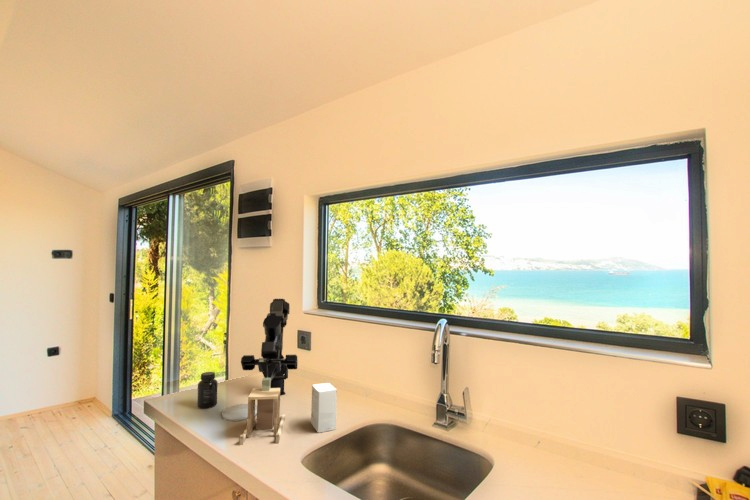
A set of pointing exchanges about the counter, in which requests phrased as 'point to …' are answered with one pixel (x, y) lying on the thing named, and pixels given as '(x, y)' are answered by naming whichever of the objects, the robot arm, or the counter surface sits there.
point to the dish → (237, 412)
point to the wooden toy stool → (263, 394)
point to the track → (243, 437)
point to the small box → (323, 407)
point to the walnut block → (265, 414)
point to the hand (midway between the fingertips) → (266, 385)
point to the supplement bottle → (207, 391)
